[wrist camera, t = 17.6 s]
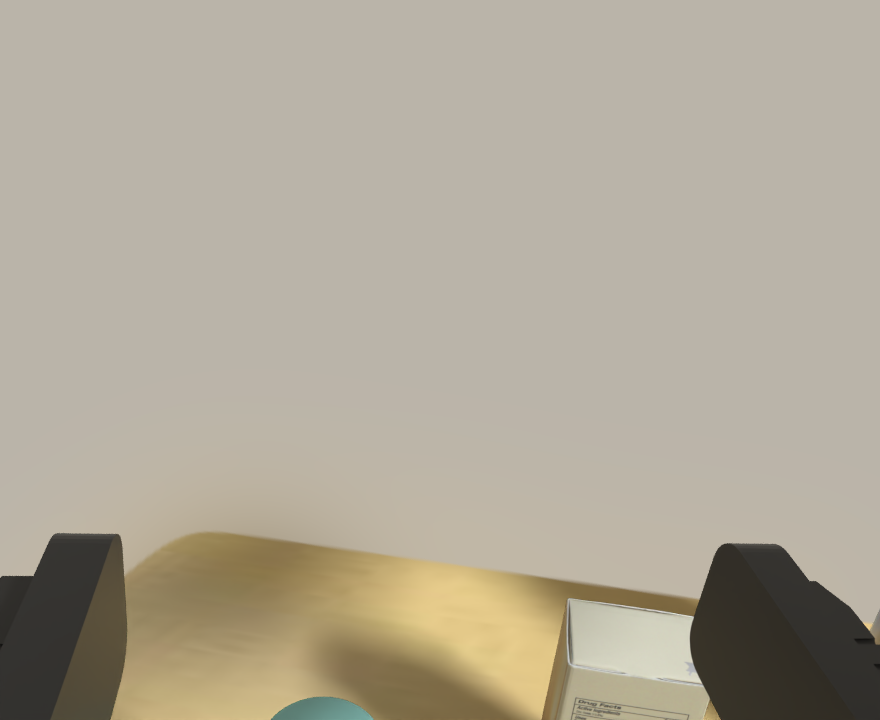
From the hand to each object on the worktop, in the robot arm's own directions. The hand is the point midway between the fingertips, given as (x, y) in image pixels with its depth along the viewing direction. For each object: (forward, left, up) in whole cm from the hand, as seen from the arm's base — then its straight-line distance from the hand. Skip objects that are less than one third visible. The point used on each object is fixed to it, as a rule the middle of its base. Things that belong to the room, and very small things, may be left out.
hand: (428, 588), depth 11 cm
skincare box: (-18, -11, -30) cm, 37 cm away
